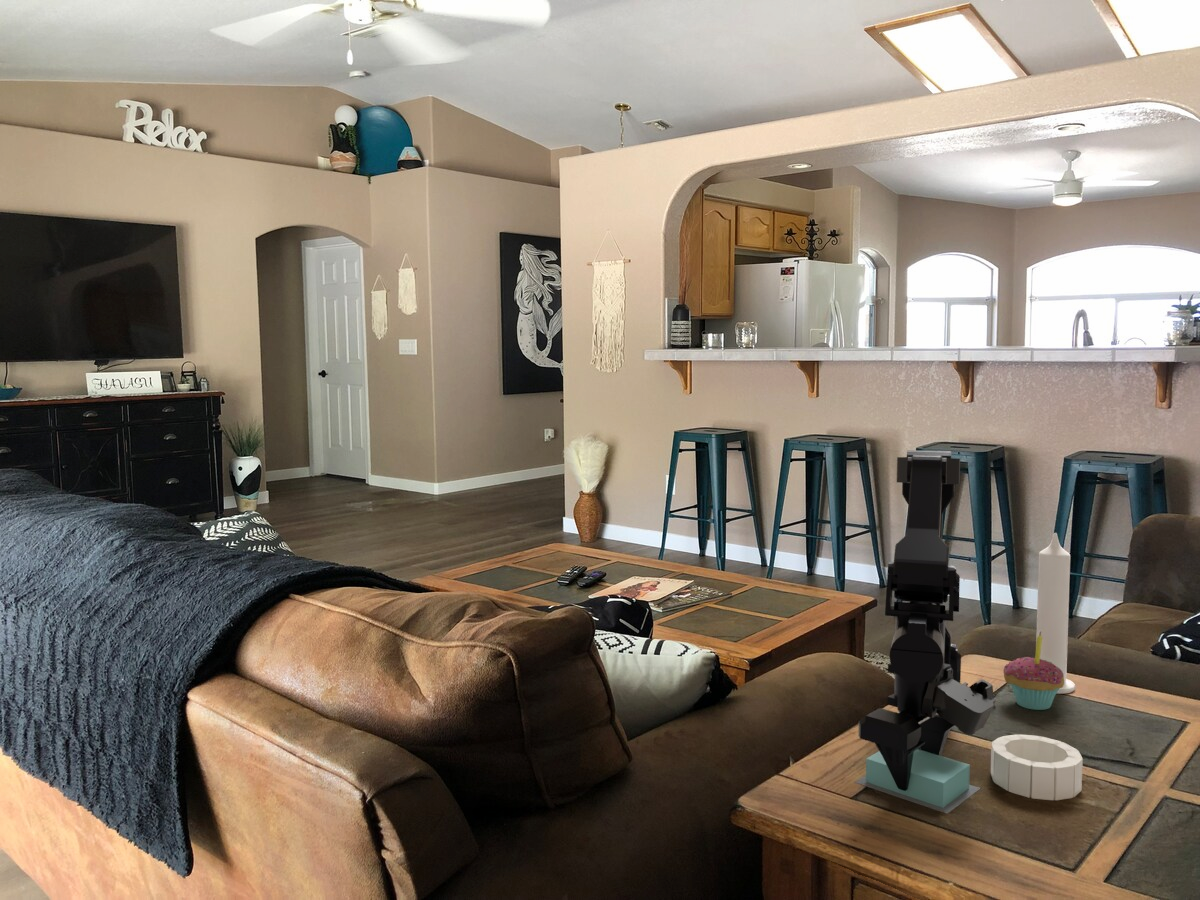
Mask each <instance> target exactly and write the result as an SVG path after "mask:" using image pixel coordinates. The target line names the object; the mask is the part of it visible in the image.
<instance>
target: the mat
mask: <svg viewBox="0 0 1200 900" xmlns="http://www.w3.org/2000/svg"><path fill="white" fill-rule="evenodd" d="M854 783H856V784H858V785H860V786H865V787H866V788H867V787H868V788H870V789H873V790H876V791H879V792H881V793H885V794H888V795H890V796H893V797H896V798H899V799H903V800H905V801H908V802H912V803H915V804H917V805H921V806H923V807H927V808H929V809H932V810H933V811H934V810H935V811H938V812H941V813H944V814H946V815H948V814H949V813H950V812H952V811H953V810H955V809H956V808H958V806H960V805H961V804H963V803H964V802H965V801H966V800H968V799H970V798H971V796H973V795H974V794H977V792H979V790H981V789H982V788H981V787H979V786H975V785H972V784H969V789H968V790H966V791H965V792H964V793H962V794H961V795H959V796H958V797H957V798H955V799H954V800H953V801H951V802H950V803H949V804H947V805H946V806H945V807H943V808H942V807H939V806H936V805H933V804H930V803H927V802H924V801H921V800H919V799H916V798H913V797H910V796H907V795H904V794H901V793H898V792H895V791H892V790H889V789H886V788H883V787H880V786H877V785H874V784H871V783H868V782H866V774H865V775H863V776H862V777H860V778H859V779H857V780H855V781H854Z"/></svg>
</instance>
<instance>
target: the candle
mask: <svg viewBox="0 0 1200 900" xmlns="http://www.w3.org/2000/svg"><path fill="white" fill-rule="evenodd" d="M1037 572H1038V573H1037V575H1038V576H1037V577H1038V578H1037V607H1036V614H1037V615H1036V637H1035V639H1036V640H1035V642H1036V643H1035V645H1036V644H1037V636H1039V634H1040V631H1041V636H1042V643H1041V652H1040V659H1041V660H1046V661H1048V662H1051V663H1052V664H1054V665H1055V666H1057V667H1058V668H1059V669H1060V670H1062V673H1063V675H1064V685H1063V687H1062V688H1060V689H1059V690H1058V692H1057V693H1056V694H1069V693H1073V692H1074V691H1075V689H1076V684H1075V683H1074V682H1073V681H1072V680H1070V679H1068V678H1067V670H1068V669H1067V668H1068V667H1067V666H1068V665H1067V664H1068V640H1069V639H1068V638H1069V635H1068V634H1069V609H1070V606H1069V605H1070V579H1071V577H1070V575H1071V554H1070V552H1068V551H1067V550H1066V549H1064V548H1063V547H1062V546H1061V544H1060V541H1059V537H1058V533H1057V532H1053V534H1052V538H1051V541H1050V543H1049V545H1048V546H1047V547H1045V548H1043V549H1042V550H1040V551H1039V552H1038V571H1037Z"/></svg>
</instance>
